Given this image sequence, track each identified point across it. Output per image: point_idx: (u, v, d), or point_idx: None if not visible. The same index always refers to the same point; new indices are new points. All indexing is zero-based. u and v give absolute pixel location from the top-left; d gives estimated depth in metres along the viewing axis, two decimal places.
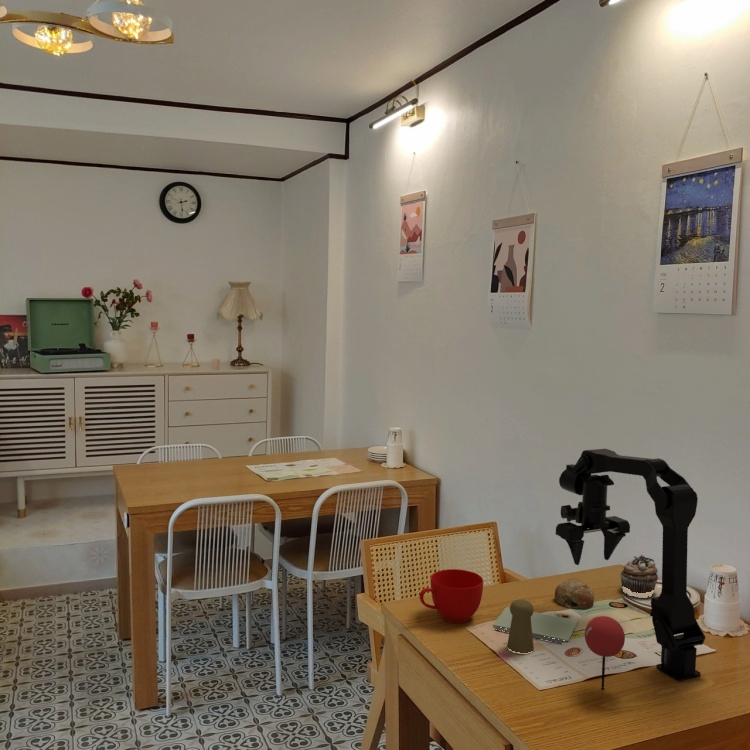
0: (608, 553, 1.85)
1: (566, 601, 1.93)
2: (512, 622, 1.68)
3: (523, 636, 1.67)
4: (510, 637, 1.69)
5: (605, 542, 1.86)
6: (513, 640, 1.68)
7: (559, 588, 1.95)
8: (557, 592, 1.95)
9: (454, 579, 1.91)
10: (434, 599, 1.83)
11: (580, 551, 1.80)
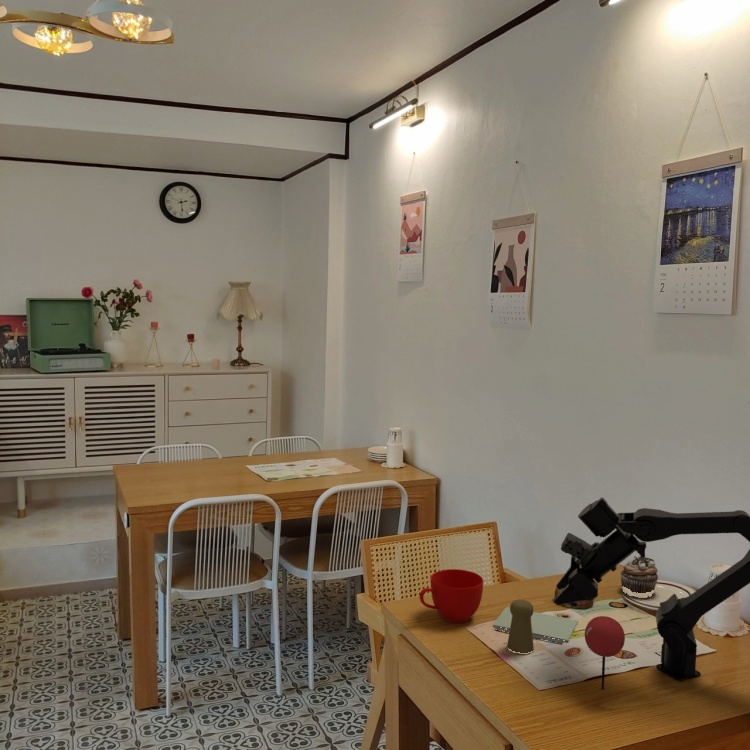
0: (566, 585, 1.70)
1: None
2: (512, 622, 1.68)
3: (523, 636, 1.67)
4: (510, 637, 1.69)
5: (568, 573, 1.70)
6: (513, 640, 1.68)
7: None
8: (557, 592, 1.96)
9: (454, 579, 1.91)
10: (434, 599, 1.83)
11: None
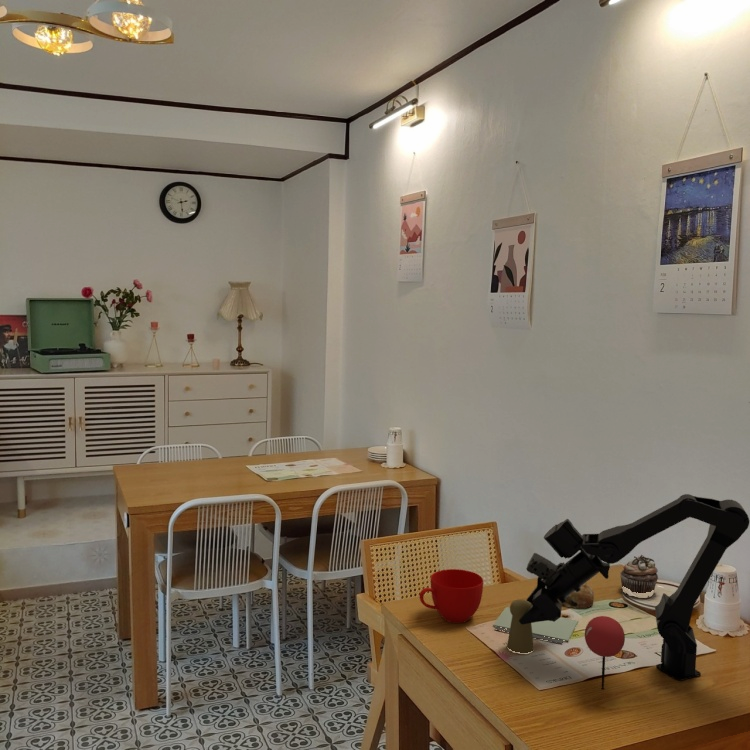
0: (532, 604, 1.72)
1: (566, 601, 1.94)
2: (512, 622, 1.68)
3: (523, 636, 1.67)
4: (510, 637, 1.69)
5: (535, 592, 1.72)
6: (513, 640, 1.68)
7: None
8: None
9: (454, 579, 1.91)
10: (434, 599, 1.83)
11: None
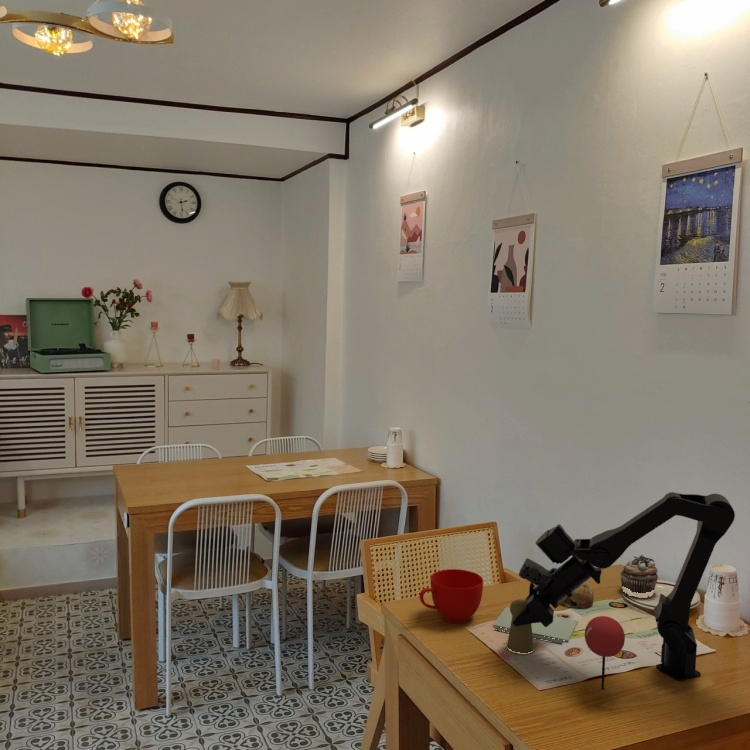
0: None
1: (566, 600, 1.94)
2: (512, 622, 1.68)
3: (523, 636, 1.67)
4: (510, 637, 1.69)
5: None
6: (513, 640, 1.68)
7: None
8: None
9: (454, 579, 1.91)
10: (434, 599, 1.83)
11: None
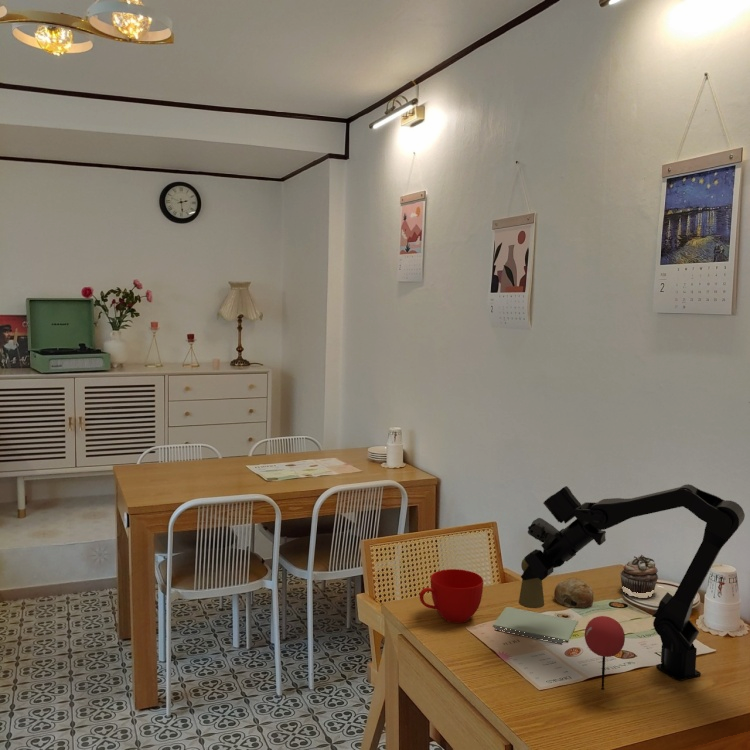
0: None
1: (566, 600, 1.94)
2: None
3: (531, 590, 1.76)
4: (520, 591, 1.78)
5: None
6: (522, 593, 1.77)
7: (559, 587, 1.96)
8: (557, 591, 1.96)
9: (454, 579, 1.91)
10: (434, 599, 1.83)
11: (538, 577, 1.73)
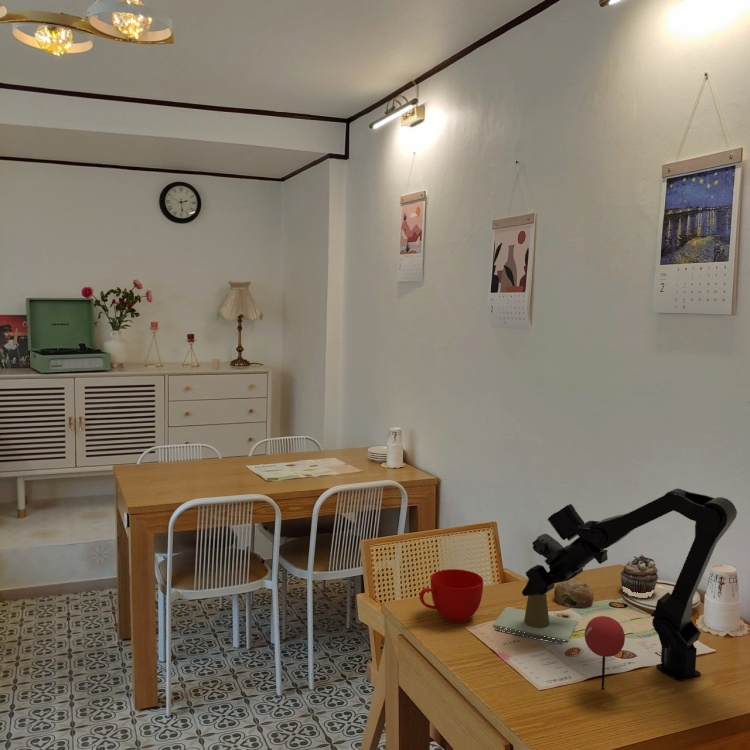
0: None
1: (565, 600, 1.94)
2: (528, 596, 1.82)
3: (535, 610, 1.79)
4: (526, 610, 1.82)
5: None
6: (527, 613, 1.81)
7: (558, 587, 1.96)
8: (556, 591, 1.96)
9: (454, 579, 1.91)
10: (434, 599, 1.83)
11: None
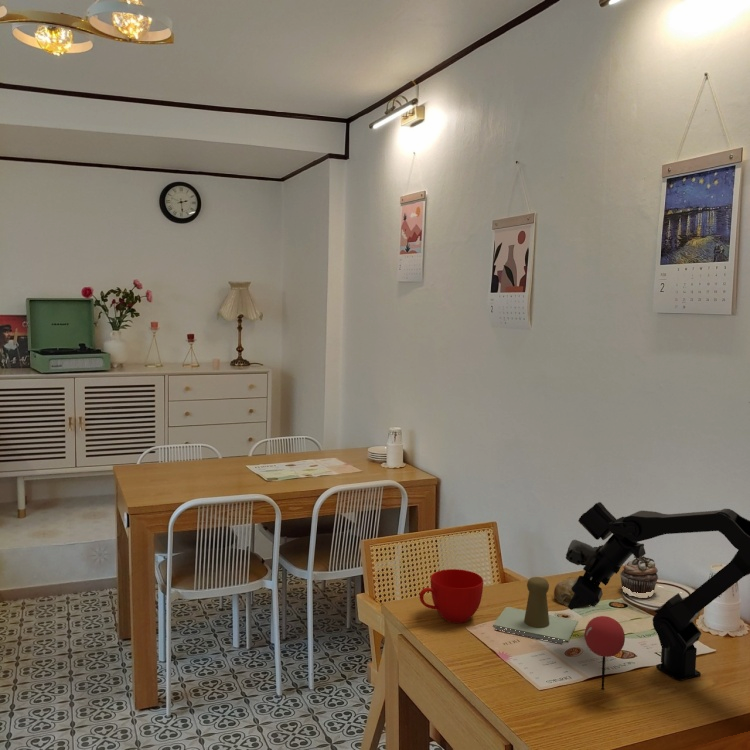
0: None
1: (565, 600, 1.94)
2: (528, 596, 1.82)
3: (535, 610, 1.79)
4: (526, 610, 1.82)
5: (586, 574, 1.78)
6: (527, 613, 1.81)
7: (558, 587, 1.96)
8: (556, 591, 1.96)
9: (454, 579, 1.91)
10: (434, 599, 1.83)
11: None
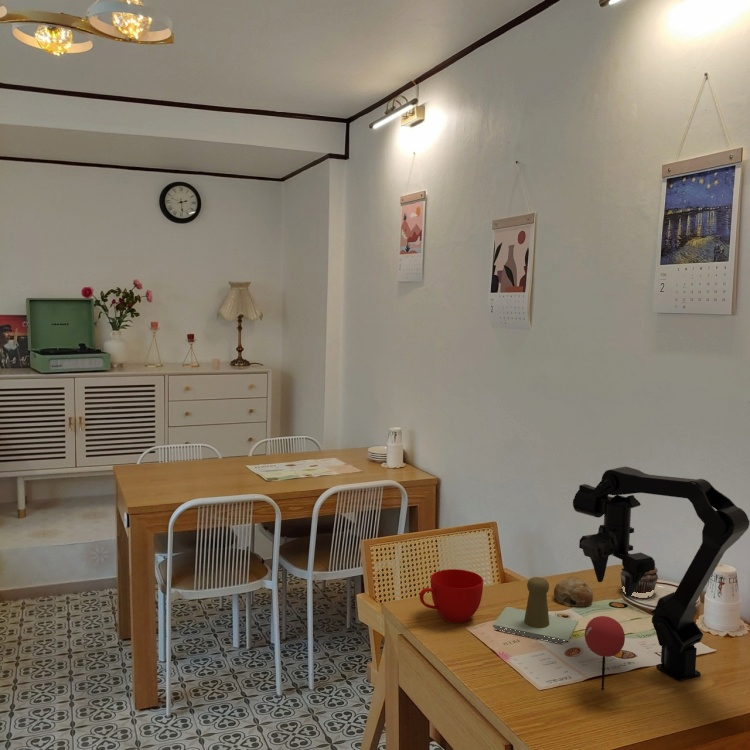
0: (603, 573, 1.76)
1: (565, 599, 1.95)
2: (528, 596, 1.82)
3: (535, 610, 1.79)
4: (526, 610, 1.82)
5: (597, 565, 1.75)
6: (527, 613, 1.81)
7: (558, 586, 1.96)
8: (556, 590, 1.97)
9: (454, 579, 1.91)
10: (434, 599, 1.83)
11: None
